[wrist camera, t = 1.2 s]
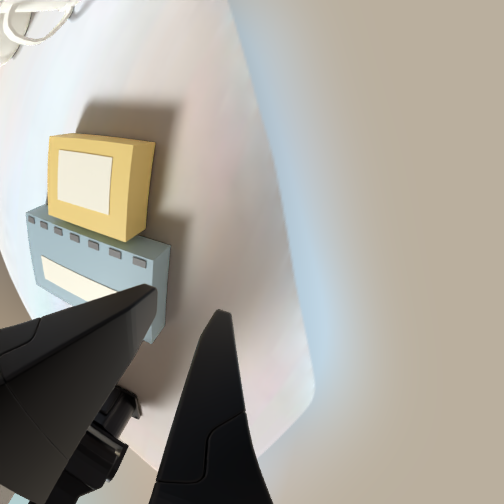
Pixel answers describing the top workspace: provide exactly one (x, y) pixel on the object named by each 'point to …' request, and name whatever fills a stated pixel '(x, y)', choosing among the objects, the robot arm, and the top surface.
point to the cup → (9, 3)
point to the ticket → (94, 263)
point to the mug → (3, 47)
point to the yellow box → (100, 182)
